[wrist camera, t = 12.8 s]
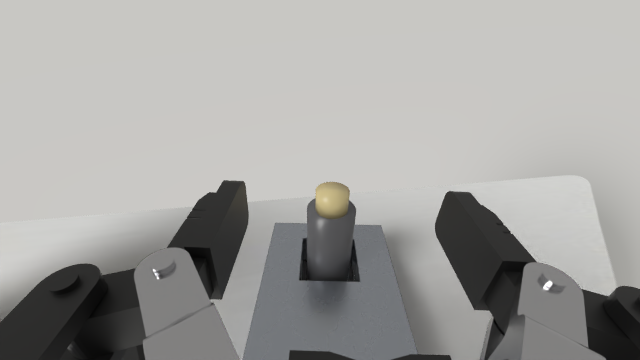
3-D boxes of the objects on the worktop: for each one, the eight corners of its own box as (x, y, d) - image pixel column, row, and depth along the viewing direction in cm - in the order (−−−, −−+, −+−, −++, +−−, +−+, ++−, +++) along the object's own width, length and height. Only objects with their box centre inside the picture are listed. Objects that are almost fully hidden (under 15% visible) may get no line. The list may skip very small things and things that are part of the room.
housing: (239, 422, 19) (232, 400, 18) (276, 244, 35) (275, 222, 33) (420, 426, 19) (432, 404, 18) (377, 246, 35) (381, 225, 33)
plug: (305, 298, 28) (306, 204, 22) (307, 264, 32) (308, 177, 26) (349, 299, 28) (361, 206, 22) (345, 265, 32) (355, 178, 26)
